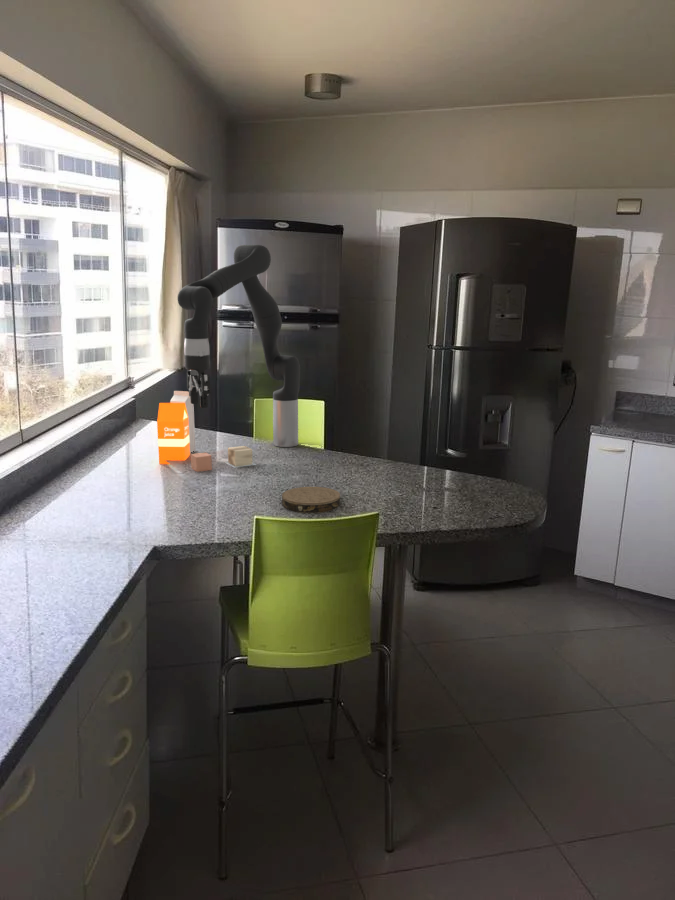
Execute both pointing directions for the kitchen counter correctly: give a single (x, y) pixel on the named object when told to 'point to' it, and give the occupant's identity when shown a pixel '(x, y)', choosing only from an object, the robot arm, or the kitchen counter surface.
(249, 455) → the birch block
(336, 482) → the kitchen counter surface
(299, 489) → the tambourine
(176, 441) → the orange juice
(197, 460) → the terracotta block
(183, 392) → the milk
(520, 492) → the kitchen counter surface
